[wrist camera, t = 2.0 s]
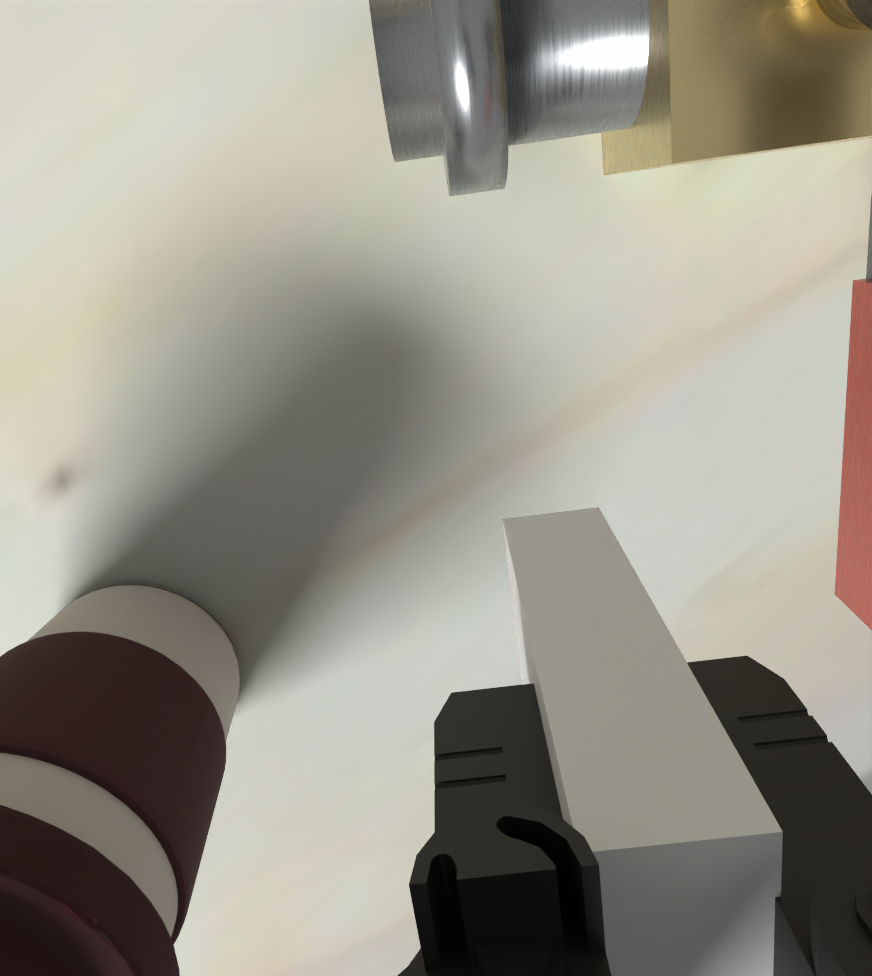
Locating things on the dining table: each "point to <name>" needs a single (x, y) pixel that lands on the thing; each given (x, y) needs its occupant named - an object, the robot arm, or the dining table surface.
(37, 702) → the coffee cup
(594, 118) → the valve
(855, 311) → the lever
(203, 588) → the dining table surface
